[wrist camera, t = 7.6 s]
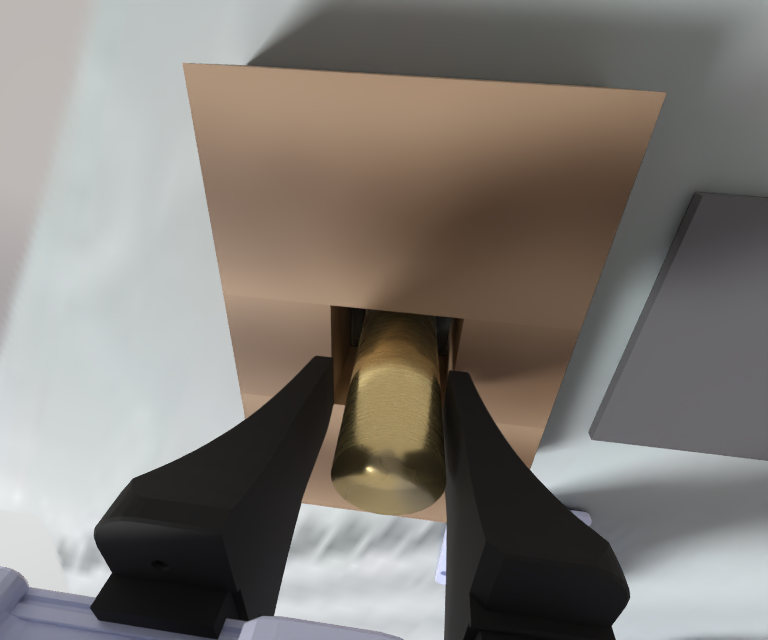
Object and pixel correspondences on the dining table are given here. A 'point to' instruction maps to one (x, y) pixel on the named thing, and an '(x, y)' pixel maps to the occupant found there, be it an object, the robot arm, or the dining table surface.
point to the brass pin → (393, 418)
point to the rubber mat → (700, 340)
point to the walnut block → (413, 224)
